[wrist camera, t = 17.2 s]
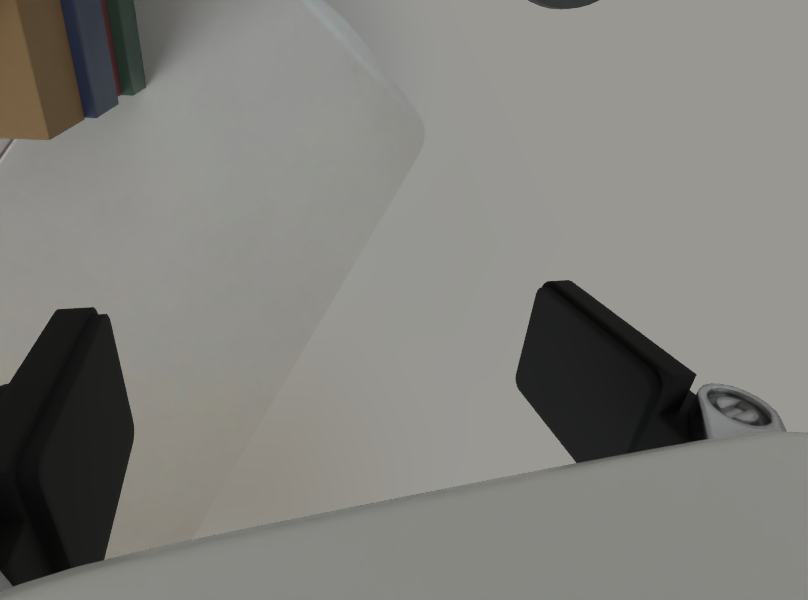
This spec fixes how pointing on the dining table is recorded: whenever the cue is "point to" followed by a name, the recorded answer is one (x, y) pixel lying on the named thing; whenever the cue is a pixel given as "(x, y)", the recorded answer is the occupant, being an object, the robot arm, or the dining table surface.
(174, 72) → the dining table surface
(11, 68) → the book stack
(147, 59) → the dining table surface
